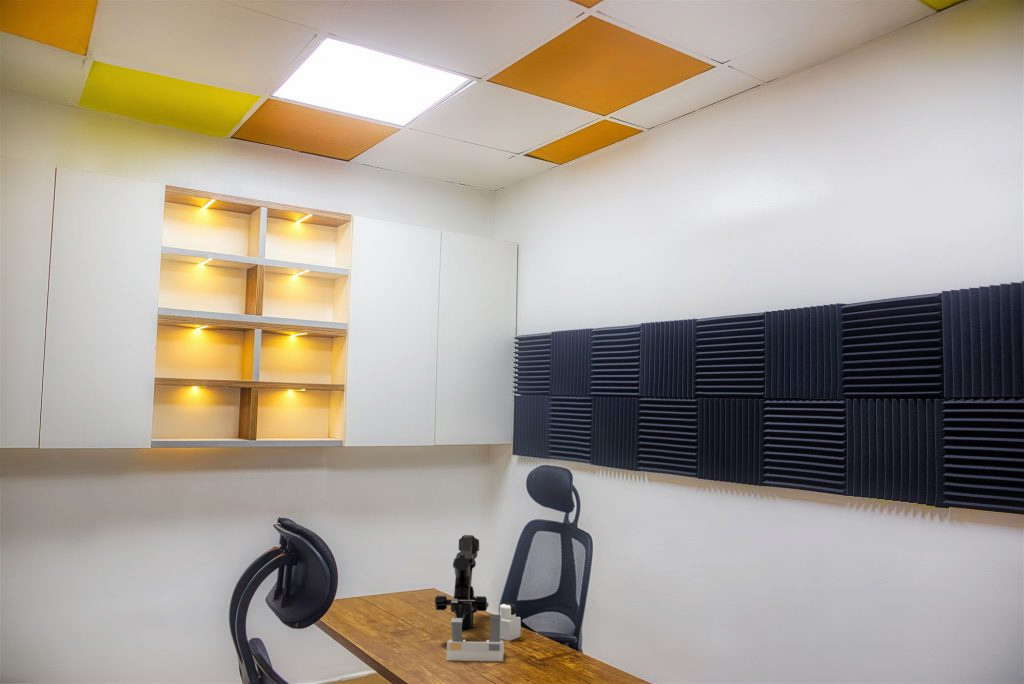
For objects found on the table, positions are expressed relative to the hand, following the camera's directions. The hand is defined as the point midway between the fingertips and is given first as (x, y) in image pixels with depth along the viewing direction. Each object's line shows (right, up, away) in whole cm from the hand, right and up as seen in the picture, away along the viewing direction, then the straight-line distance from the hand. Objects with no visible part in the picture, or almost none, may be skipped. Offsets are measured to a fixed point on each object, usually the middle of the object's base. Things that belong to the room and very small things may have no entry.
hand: (459, 624), depth 267 cm
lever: (+13, -3, -9) cm, 16 cm away
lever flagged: (0, -3, -9) cm, 9 cm away
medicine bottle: (+17, -10, +12) cm, 23 cm away
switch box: (+6, -7, -10) cm, 14 cm away
